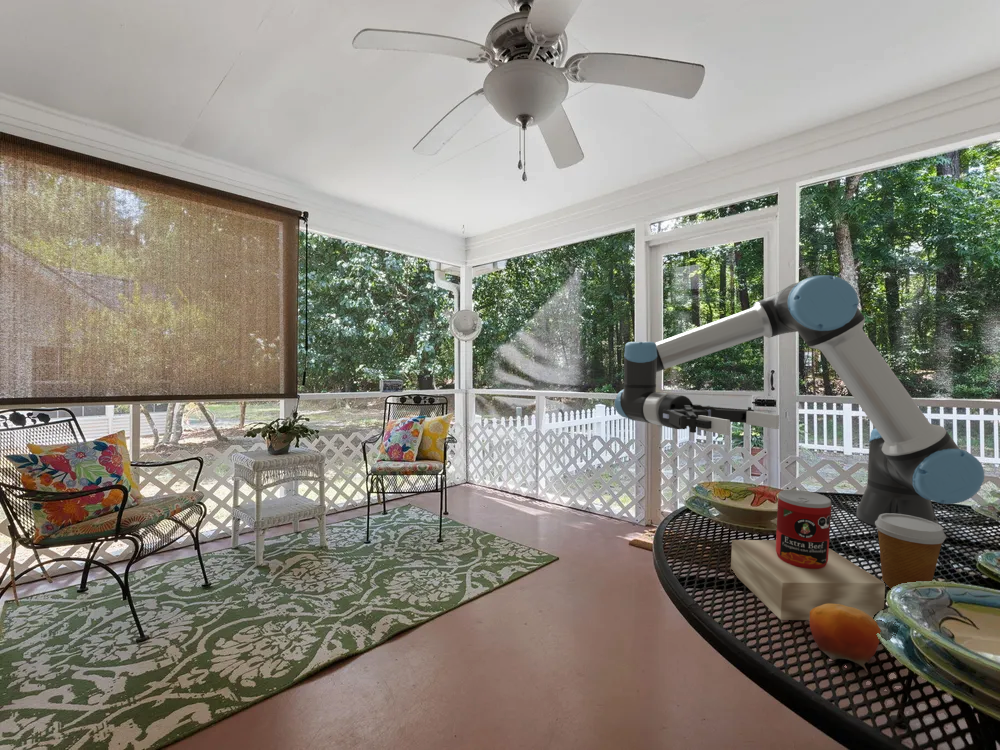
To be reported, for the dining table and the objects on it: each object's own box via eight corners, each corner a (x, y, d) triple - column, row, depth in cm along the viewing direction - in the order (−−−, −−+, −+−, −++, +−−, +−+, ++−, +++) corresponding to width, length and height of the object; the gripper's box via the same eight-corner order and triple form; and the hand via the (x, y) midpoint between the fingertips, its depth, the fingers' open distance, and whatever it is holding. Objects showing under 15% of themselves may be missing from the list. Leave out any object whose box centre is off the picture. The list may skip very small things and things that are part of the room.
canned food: (776, 563, 80) (779, 499, 80) (774, 546, 88) (777, 486, 87) (831, 574, 77) (835, 507, 76) (824, 554, 84) (828, 493, 83)
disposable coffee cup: (922, 607, 78) (927, 536, 78) (859, 581, 87) (863, 516, 86) (953, 595, 82) (958, 527, 81) (890, 571, 91) (894, 509, 90)
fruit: (820, 662, 62) (815, 596, 66) (806, 660, 69) (802, 600, 72) (896, 678, 60) (887, 608, 63) (874, 675, 66) (867, 611, 70)
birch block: (815, 571, 91) (816, 540, 90) (882, 620, 75) (885, 583, 74) (730, 570, 90) (732, 539, 90) (780, 619, 75) (782, 582, 74)
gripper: (708, 422, 114) (795, 438, 95) (625, 431, 104) (705, 451, 84) (709, 391, 114) (797, 401, 95) (625, 396, 103) (706, 408, 84)
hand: (754, 424), depth 89 cm, fingers open, 13 cm apart
